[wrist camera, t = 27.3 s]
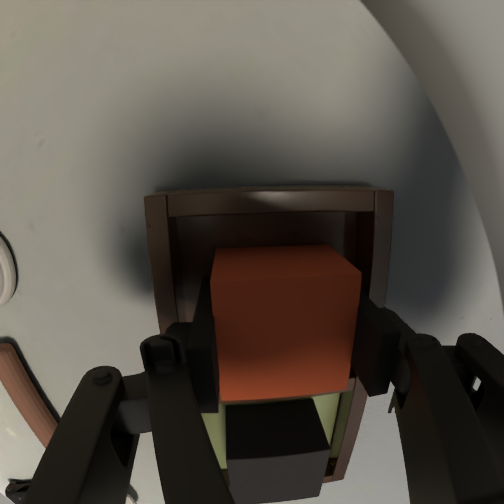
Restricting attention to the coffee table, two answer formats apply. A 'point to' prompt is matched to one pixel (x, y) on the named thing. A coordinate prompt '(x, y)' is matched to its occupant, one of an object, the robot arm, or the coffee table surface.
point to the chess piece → (6, 274)
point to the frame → (262, 235)
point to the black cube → (275, 451)
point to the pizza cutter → (28, 397)
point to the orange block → (283, 320)
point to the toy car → (17, 491)
